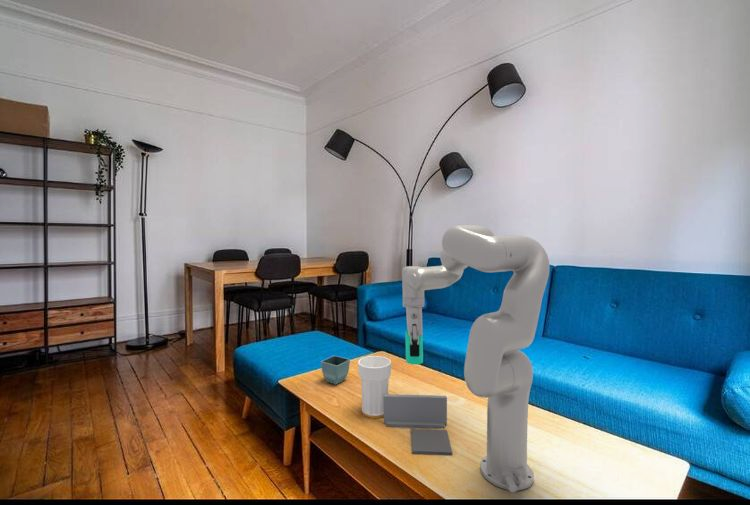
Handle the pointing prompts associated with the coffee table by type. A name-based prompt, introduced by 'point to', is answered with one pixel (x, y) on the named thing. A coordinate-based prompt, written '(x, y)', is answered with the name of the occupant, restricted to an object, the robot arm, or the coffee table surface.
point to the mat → (430, 442)
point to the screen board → (415, 411)
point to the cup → (374, 384)
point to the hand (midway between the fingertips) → (414, 353)
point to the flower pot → (335, 369)
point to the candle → (408, 358)
